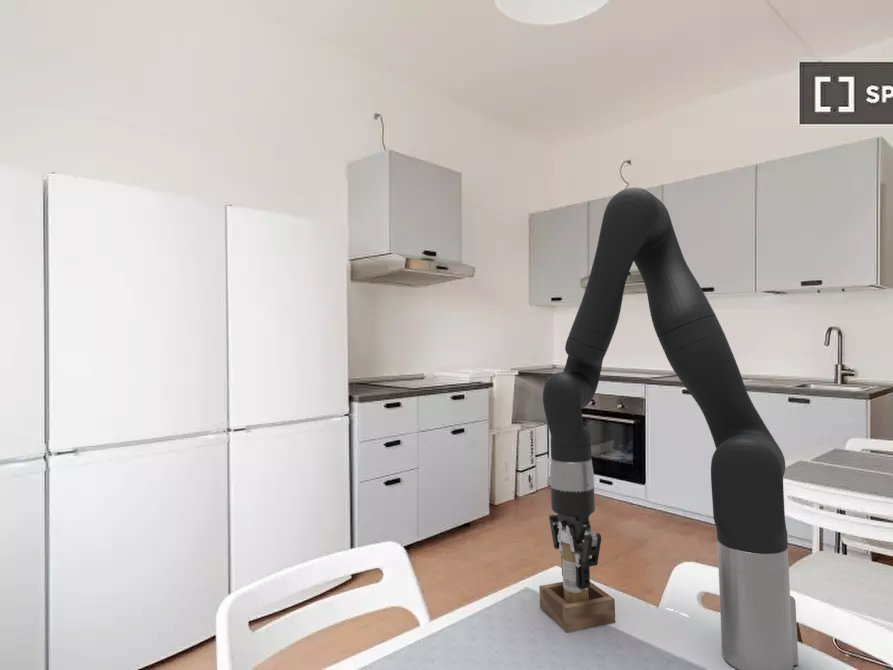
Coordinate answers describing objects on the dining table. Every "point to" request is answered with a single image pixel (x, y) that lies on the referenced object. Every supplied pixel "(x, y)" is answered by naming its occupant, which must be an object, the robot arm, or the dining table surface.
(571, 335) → the robot arm
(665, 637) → the dining table surface
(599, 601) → the frame
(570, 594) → the sprinkles bottle
